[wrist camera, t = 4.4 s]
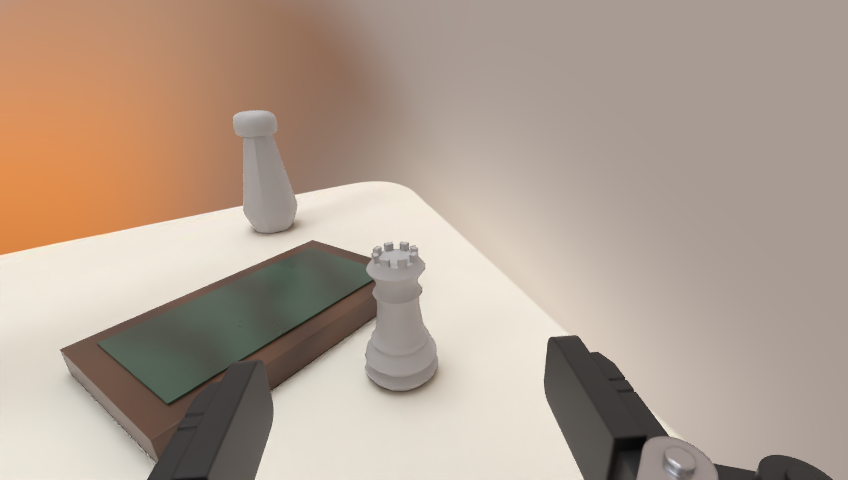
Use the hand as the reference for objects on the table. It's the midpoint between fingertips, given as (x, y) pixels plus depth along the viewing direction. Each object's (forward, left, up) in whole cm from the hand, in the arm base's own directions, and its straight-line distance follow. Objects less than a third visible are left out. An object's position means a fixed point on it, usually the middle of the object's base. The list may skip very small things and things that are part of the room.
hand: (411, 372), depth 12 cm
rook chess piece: (+8, +8, -10) cm, 15 cm away
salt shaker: (+20, +35, -10) cm, 42 cm away
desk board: (+7, +19, -9) cm, 22 cm away
